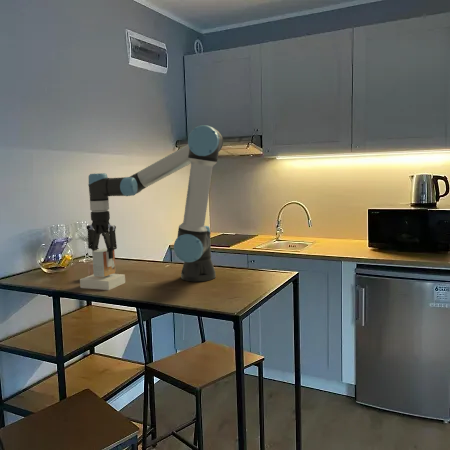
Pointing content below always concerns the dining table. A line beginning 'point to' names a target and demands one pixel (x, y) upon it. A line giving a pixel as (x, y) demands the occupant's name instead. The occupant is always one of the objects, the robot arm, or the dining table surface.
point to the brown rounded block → (90, 269)
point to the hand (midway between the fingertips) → (103, 265)
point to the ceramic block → (102, 281)
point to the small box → (102, 263)
